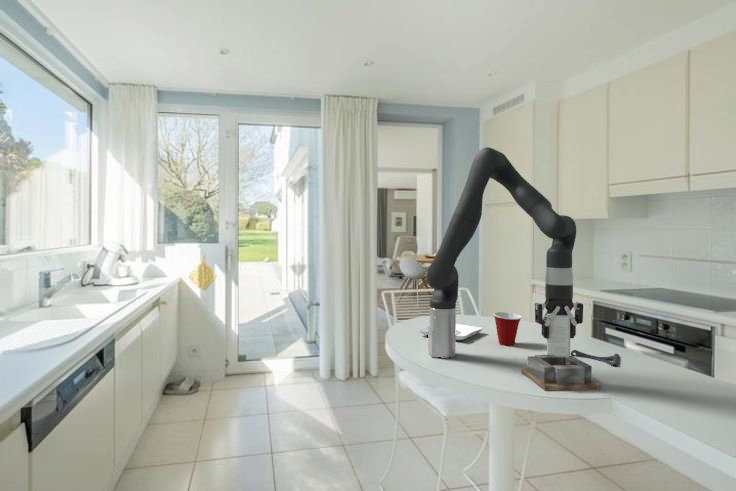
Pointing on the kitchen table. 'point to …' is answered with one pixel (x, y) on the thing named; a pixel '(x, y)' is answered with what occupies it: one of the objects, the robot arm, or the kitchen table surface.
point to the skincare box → (559, 336)
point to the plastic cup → (506, 327)
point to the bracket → (603, 359)
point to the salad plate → (464, 329)
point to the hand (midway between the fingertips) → (558, 337)
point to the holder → (559, 373)
